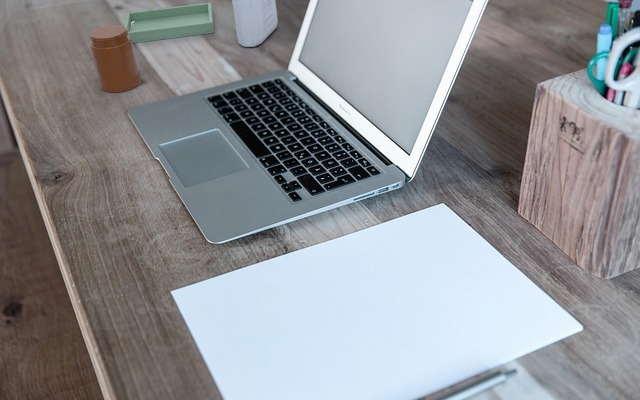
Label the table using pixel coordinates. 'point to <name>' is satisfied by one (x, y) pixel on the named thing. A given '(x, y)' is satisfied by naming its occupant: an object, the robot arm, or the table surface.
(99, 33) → the jar
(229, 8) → the table surface
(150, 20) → the tray
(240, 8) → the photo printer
